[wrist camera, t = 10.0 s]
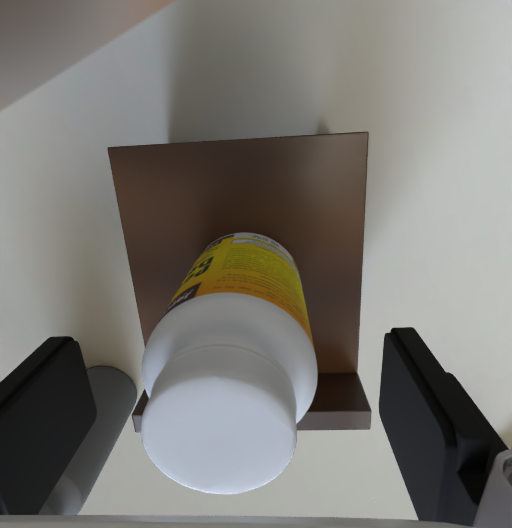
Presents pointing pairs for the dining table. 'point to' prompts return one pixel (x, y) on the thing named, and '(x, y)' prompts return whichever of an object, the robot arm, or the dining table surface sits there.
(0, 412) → the robot arm
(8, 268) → the dining table surface
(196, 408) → the supplement bottle
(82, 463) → the bottle
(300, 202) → the shelf
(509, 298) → the dining table surface
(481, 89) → the dining table surface
